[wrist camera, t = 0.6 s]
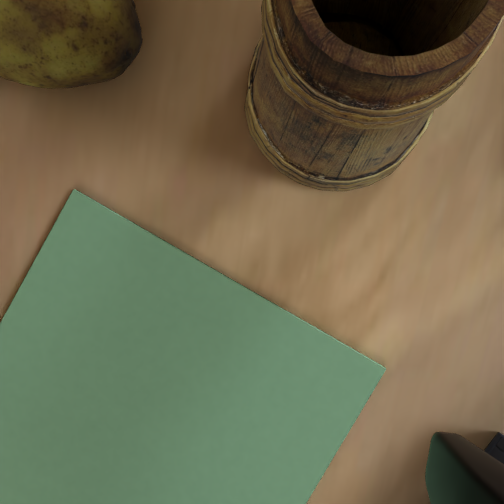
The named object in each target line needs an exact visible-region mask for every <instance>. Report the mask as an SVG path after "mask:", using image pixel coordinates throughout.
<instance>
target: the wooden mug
mask: <svg viewBox="0 0 504 504" xmlns="http://www.w3.org/2000/svg"><path fill="white" fill-rule="evenodd" d="M261 13H262V33H263V35H262V37H261V39H260V41H259V42H258V44H257V46H256V48H255V52H254V55H253V59H252V63H251V67H250V71H249V75H248V92H247V97H246V101H245V106H244V108H245V113H246V117H247V122H248V126H249V131H250V134H251V136H252V137H253V139H254V141H255V142H256V144H257V145H258V147H259V148H260V150H261V152H262V153H263V155H264V156H265V157H266V158H267V159H268V160H269V161H270V162H271V163H272V164H273V165H274V166H275V167H276V168H277V169H278V170H279V171H280V172H282V173H283V174H285V175H287V176H288V177H290V178H291V179H293V180H295V181H296V182H298V183H300V184H303V185H307V186H310V187H313V188H317V189H320V190H334V191H348V190H352V189H356V188H360V187H364V186H369V185H371V184H373V183H375V182H377V181H379V180H380V179H382V178H384V177H386V176H388V175H390V174H391V173H392V172H393V171H394V170H395V169H396V168H397V166H398V165H399V164H400V163H401V162H402V161H403V160H404V159H405V158H406V157H407V156H408V154H409V153H410V152H411V151H412V149H413V148H414V147H415V146H416V144H417V143H418V141H419V140H420V138H421V137H422V135H423V133H424V132H425V130H426V129H427V127H428V125H429V122H430V120H431V117H432V115H433V112H434V109H436V108H437V107H439V106H441V105H442V104H443V103H444V102H445V101H446V100H447V99H448V98H449V97H450V96H451V95H452V94H453V93H454V92H455V91H456V90H457V89H458V88H459V87H460V86H461V85H462V84H463V82H464V81H465V80H466V78H467V77H468V76H469V74H470V73H471V72H472V70H473V69H474V68H475V66H476V65H477V64H478V62H479V61H480V60H481V58H482V57H483V56H484V54H485V53H486V51H487V50H488V49H489V47H490V46H491V44H492V42H493V40H494V38H495V35H496V33H497V31H498V29H499V27H500V24H501V22H502V20H503V18H504V0H263V1H262V6H261Z"/></svg>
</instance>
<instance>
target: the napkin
mask: <svg viewBox="0 0 504 504" xmlns="http://www.w3.org/2000/svg"><path fill="white" fill-rule="evenodd" d="M385 370H386V368H385V367H384V366H382V365H380V364H378V363H377V362H375V361H373V360H371V359H370V358H368V357H366V356H364V355H363V354H361V353H359V352H357V351H356V350H354V349H352V348H351V347H349V346H347V345H345V344H344V343H342V342H340V341H338V340H337V339H335V338H333V337H331V336H330V335H328V334H326V333H324V332H323V331H321V330H319V329H317V328H316V327H314V326H312V325H310V324H309V323H307V322H305V321H304V320H302V319H300V318H298V317H297V316H295V315H293V314H291V313H290V312H288V311H286V310H284V309H283V308H281V307H279V306H277V305H276V304H274V303H272V302H270V301H269V300H267V299H265V298H263V297H262V296H260V295H258V294H257V293H255V292H253V291H251V290H250V289H248V288H246V287H244V286H243V285H241V284H239V283H237V282H236V281H234V280H232V279H230V278H229V277H227V276H225V275H223V274H222V273H220V272H218V271H216V270H215V269H213V268H211V267H209V266H208V265H206V264H204V263H203V262H201V261H199V260H197V259H196V258H194V257H192V256H190V255H189V254H187V253H185V252H183V251H182V250H180V249H178V248H176V247H175V246H173V245H171V244H169V243H168V242H166V241H164V240H162V239H161V238H159V237H157V236H156V235H154V234H152V233H150V232H149V231H147V230H145V229H143V228H142V227H140V226H138V225H136V224H135V223H133V222H131V221H129V220H128V219H126V218H124V217H122V216H121V215H119V214H117V213H115V212H114V211H112V210H110V209H109V208H107V207H105V206H103V205H102V204H100V203H98V202H96V201H95V200H93V199H91V198H89V197H88V196H86V195H84V194H82V193H81V192H79V191H77V190H75V189H73V191H72V193H71V195H70V196H69V198H68V200H67V202H66V204H65V206H64V207H63V209H62V211H61V213H60V215H59V217H58V218H57V220H56V222H55V224H54V226H53V228H52V229H51V231H50V233H49V235H48V237H47V239H46V240H45V242H44V244H43V246H42V248H41V249H40V251H39V253H38V255H37V257H36V259H35V260H34V262H33V264H32V266H31V268H30V270H29V271H28V273H27V275H26V277H25V279H24V281H23V282H22V284H21V286H20V288H19V290H18V292H17V293H16V295H15V297H14V299H13V301H12V303H11V304H10V306H9V308H8V310H7V312H6V314H5V315H4V317H3V319H2V321H1V323H0V504H306V503H307V501H308V499H309V498H310V496H311V494H312V493H313V491H314V489H315V488H316V486H317V484H318V482H319V481H320V479H321V477H322V476H323V474H324V472H325V471H326V469H327V467H328V466H329V464H330V462H331V461H332V459H333V457H334V456H335V454H336V452H337V451H338V449H339V447H340V446H341V444H342V442H343V441H344V439H345V437H346V436H347V434H348V432H349V431H350V429H351V427H352V426H353V424H354V422H355V421H356V419H357V417H358V415H359V414H360V412H361V410H362V409H363V407H364V405H365V404H366V402H367V400H368V399H369V397H370V395H371V394H372V392H373V390H374V389H375V387H376V385H377V384H378V382H379V380H380V379H381V377H382V375H383V374H384V372H385Z"/></svg>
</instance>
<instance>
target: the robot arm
mask: <svg viewBox="0 0 504 504" xmlns="http://www.w3.org/2000/svg"><path fill="white" fill-rule="evenodd" d="M425 480H426V486H427V491H428V495H429V499H430V503H431V504H504V464H503V463H501V462H500V461H498V460H497V459H495V458H494V457H492V456H491V455H489V454H488V453H486V452H485V451H483V450H481V449H480V448H478V447H477V446H475V445H474V444H472V443H471V442H469V441H468V440H466V439H465V438H463V437H462V436H460V435H458V434H455V433H446V432H436V433H435V434H434V435H433V437H432V439H431V444H430V450H429V455H428V461H427V466H426V472H425Z"/></svg>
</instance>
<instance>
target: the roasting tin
mask: <svg viewBox="0 0 504 504" xmlns="http://www.w3.org/2000/svg"><path fill="white" fill-rule="evenodd" d="M484 451H485V452H486V453H488V454H489V455H491V456H492V457H494V458H495V459H497V460H498V461H500V462H501V463H503V464H504V435H502V434H501V433H499V432H498V433H497V435H496V436H495V437H494V439H493V440H492V441H491V443H490V444H489V445H488V446H487V448H486V449H485V450H484Z"/></svg>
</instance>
